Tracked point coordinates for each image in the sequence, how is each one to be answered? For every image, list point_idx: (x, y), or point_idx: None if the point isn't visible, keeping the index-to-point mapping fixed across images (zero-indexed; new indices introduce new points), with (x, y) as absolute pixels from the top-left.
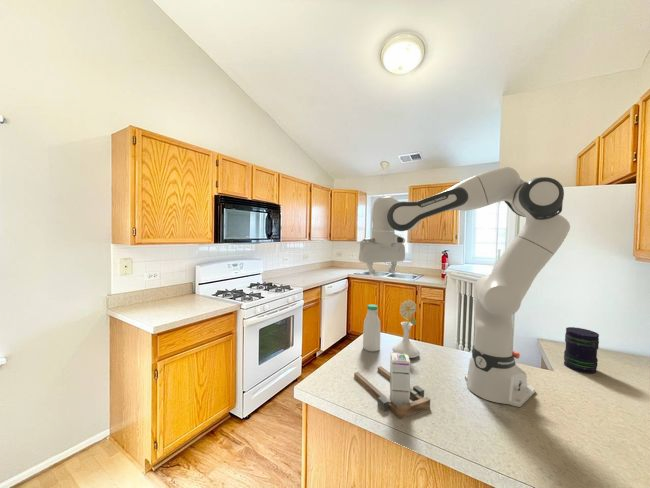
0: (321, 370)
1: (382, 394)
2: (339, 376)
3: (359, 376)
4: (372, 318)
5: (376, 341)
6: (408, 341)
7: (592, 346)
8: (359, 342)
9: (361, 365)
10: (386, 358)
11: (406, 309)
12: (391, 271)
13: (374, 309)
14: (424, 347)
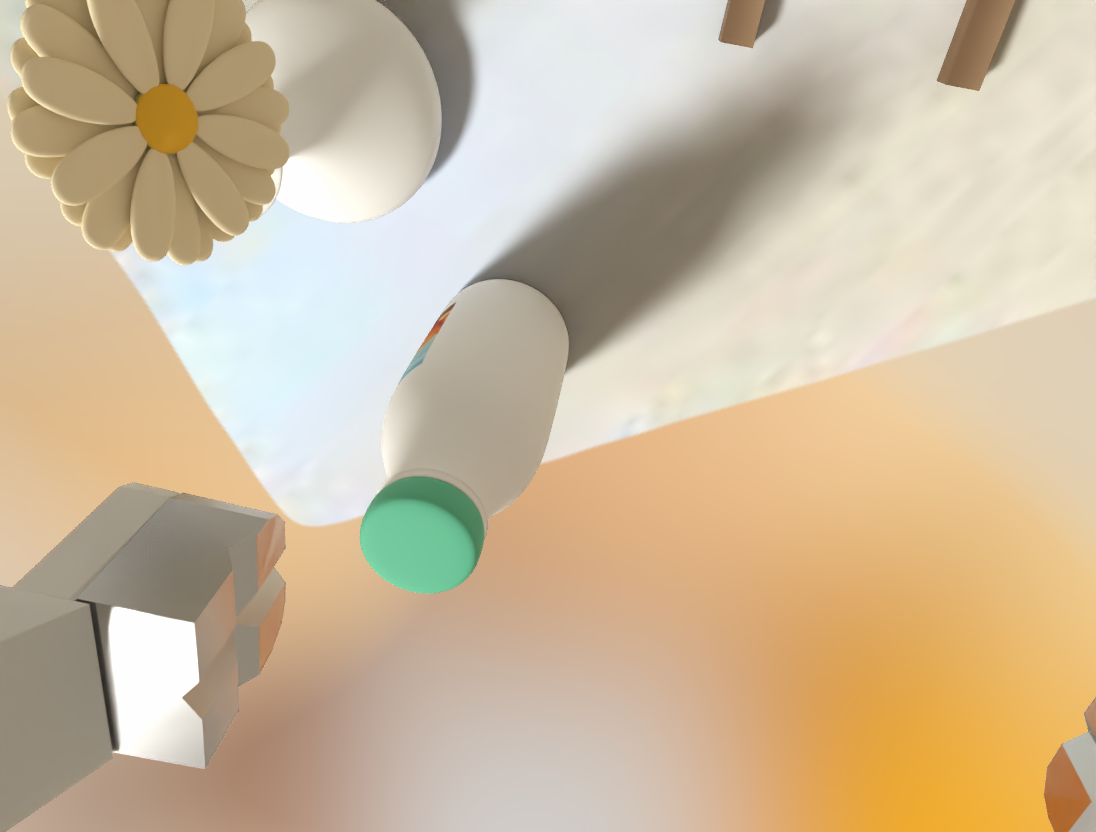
0: (1070, 300)
1: None
2: (1047, 157)
3: (999, 19)
4: (488, 436)
5: (502, 307)
6: (294, 91)
7: None
8: None
9: (781, 185)
10: (529, 151)
11: (189, 128)
12: (249, 539)
13: (442, 485)
14: None
